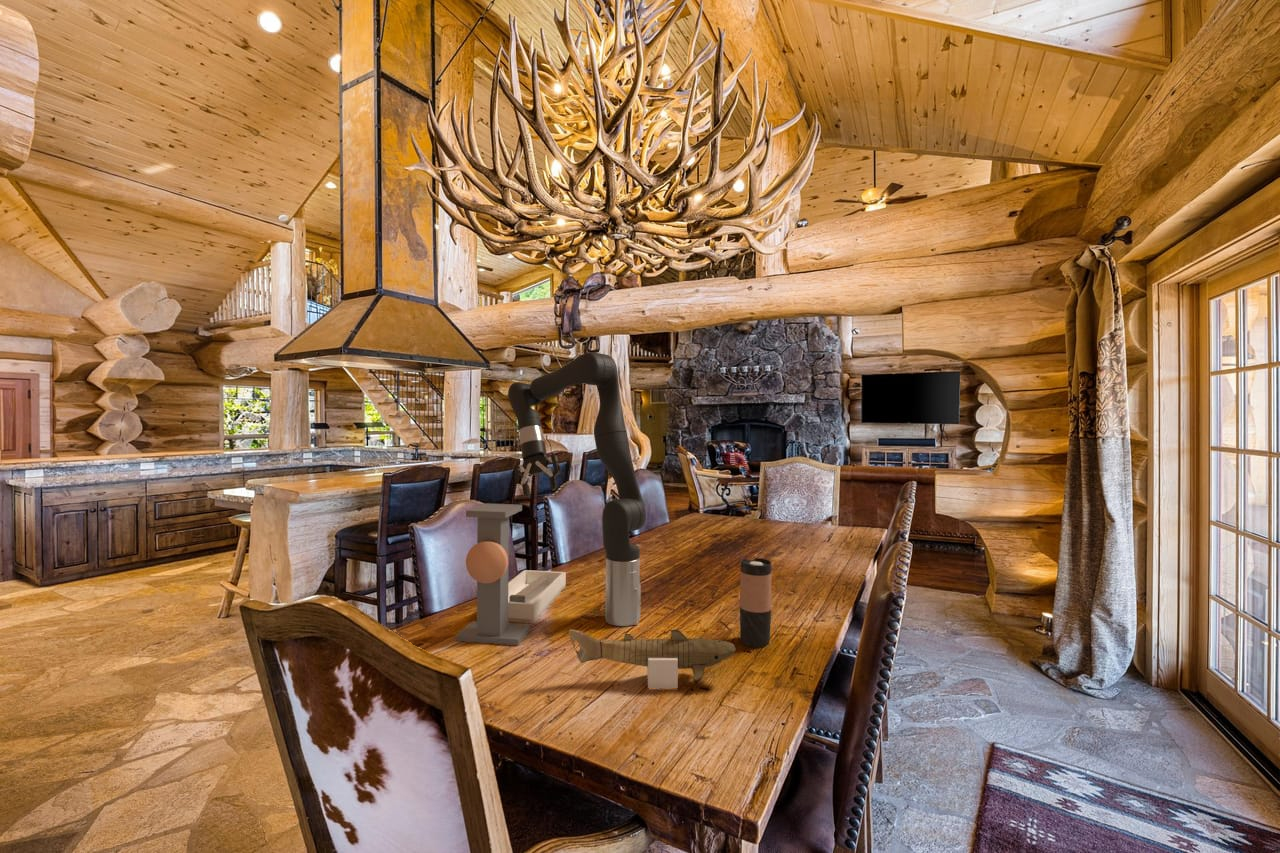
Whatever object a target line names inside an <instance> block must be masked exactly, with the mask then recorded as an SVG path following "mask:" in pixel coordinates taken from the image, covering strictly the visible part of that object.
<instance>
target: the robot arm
mask: <svg viewBox="0 0 1280 853" xmlns="http://www.w3.org/2000/svg"><path fill="white" fill-rule="evenodd" d="M618 372H619V371H618V367H617V363H616V360H614V358H613V357H612V356H611V355H608V354H605V353H600V352H594V351H592V352H590V351H589V352H584V353H583V354H581V355H579V356H577V357H576V358H574V359H572V360H571V361H569V363H566V364H565V365H563V366H561V367H560V368H558V369H556V370H554V371H552V372H550V373H545V374H544V375H541V376H538V377H536V378H535V379H533V380H532V381H531V382H530V384H529V383H524V382H520V381H516V382H512V384H510V386H509V387H508V391H507V397H508V402H509V404H510V406H511V409H512V411H513V414H514V415H515V418H516V420H517V426H518V433H519V435H518V436H519V444H520V450H521V457H522V460H523V461H522V464H518V465H517V464H515V465H513V470H514V471H513V472H514V473H513V474H514V482H515V484H516V485H520V486H521V489H522V493H523V495H524V496H525V497H527V498H530V497H531V492H530V485H529V483H530V480H531V479H532V477H533V476H537V475H540V474H544V473H546V474H547V475H548V476H549V477H548V479H549V485H550V490H551V491H556V490H557V487H558V483H557V476H559V475H560V474H562V471H561V467H560V462H559V458H558V456H557V455H555V454H552V455H550V456H548V452H547V446H546V442H545V439H546V438H545V435H544V431H543V428H542V423H541V417H540V414H539V412H538V411H537V410H536V409H533V408H531V407H535V406H537V405H540V404H541V403H542V402H544V401H545V400H547V399H550V398H552V397H555V396H557V395H560V394H562V393H563V392H564V391H565V390H566V389H567V388H568V387H571V386H573V385H582V384H585V385H588V386H596V388H597V393H598V399H599V407H598V408H599V409H598V413H597V415H596V419H595V421H594V422H595V423H594V427H593V436H594V441H595V442H594V443H595V449H596V452H597V456H598V458H599V460H600V462H601V464H602V465H603V467H605V469H606V470H607V471H608V473H609V474H610V476H611V477H612V479H613V481H614V483H615V486H616V489H617V490H616V491H617V494H618V498H617V499H614V500H613V499H612V500H609V501H608V502H607V503H606V504H605V506H604V508H603V511H602V515H601V516H602V518H601V519H602V521H601V523H602V544H603V549H604V551H605V605H604V607H605V609H604V610H605V611H604V614H605V618H604V620H605V622H606V623H607V624H609V625H611V626H616V627H628V626H637V625H638V623H639V622H640V619H641V594H642V593H641V591H642V590H641V588H642V587H641V582H640V564H641V563H640V562H641V561H640V558H641V555H640V554H641V553H640V547H639V546H638V545H637V544H633V543H631V542H630V532H631V533H632V532H634V531H638V530H640V529H641V528H643V526H644V525H645V523H646V517H647V514H646V507H645V503H644V501H643V496H642V493H641V490H640V486H639V482H638V479H637V475H636V471H635V468H634V463H633V458H632V455H631V450H630V442H629V437H628V432H627V427H626V425H625V423H626V422H625V418H624V412H623V406H622V399H621V394H620V381H619V373H618ZM549 463H551V464H552V467H553V471H552V469H550V467H548V466H549ZM523 469H524V470H525V471H524V473H523ZM522 474H523V475H522Z"/></svg>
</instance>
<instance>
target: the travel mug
mask: <svg viewBox="0 0 1280 853" xmlns="http://www.w3.org/2000/svg"><path fill="white" fill-rule="evenodd" d="M739 578H740V580H739V582H740V584H739V585H740V586H739V589H740V591H739V624H740V625H739V627H740V628H739V632H740V633H739V636H740V637H739V640H740V642H741V644H743V645H745V646H747V647H750V648H756V647H760V648H765V646H766V647H768V646H769V645H770V642H771V640H770V639H771V625H772V624H771V620H772V562H771V561H770V560H768V559H766V558H761V557H756V558H754V559H748V558H746V557H745V558H742V559H741V560H740V577H739ZM767 645H768V646H767Z"/></svg>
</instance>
